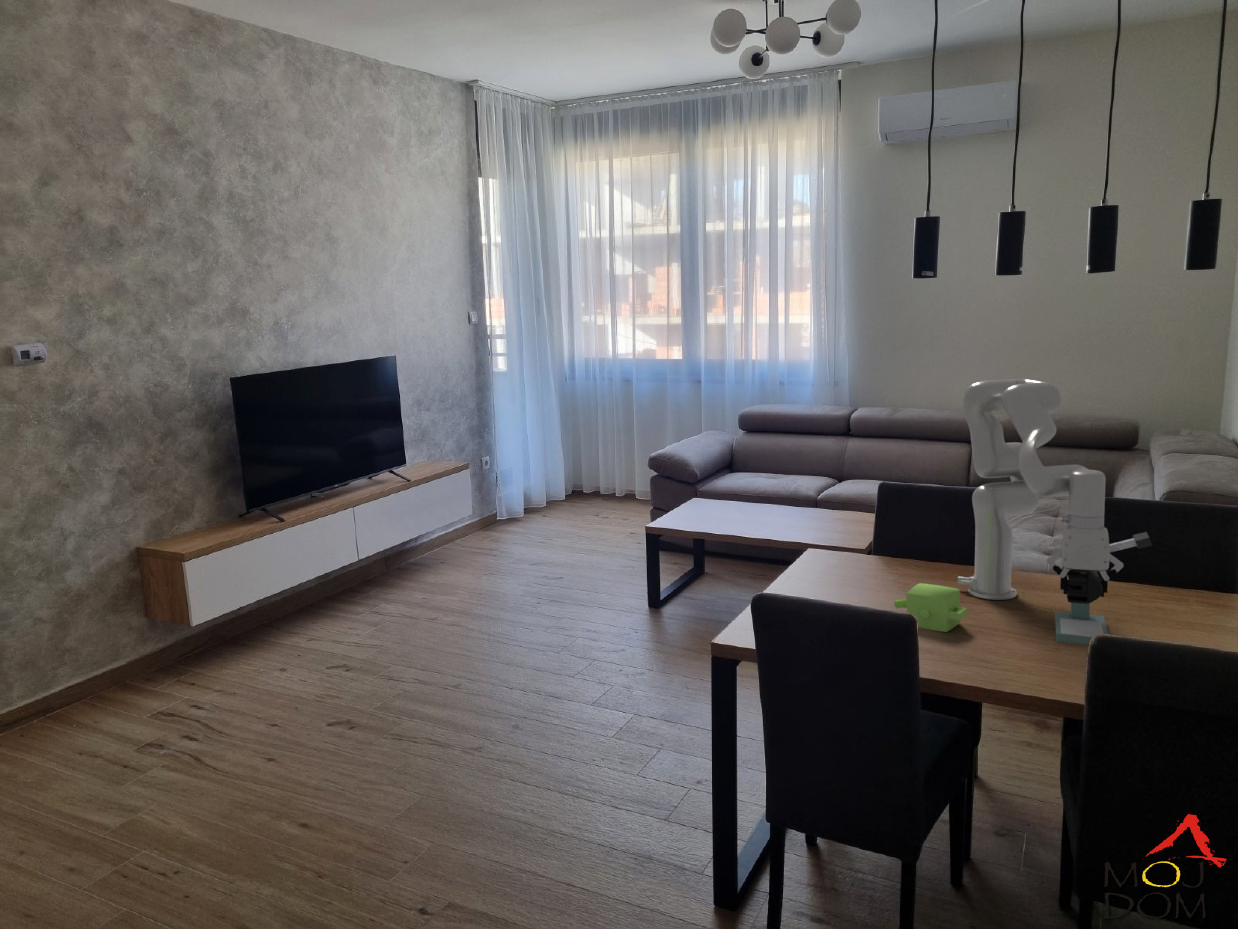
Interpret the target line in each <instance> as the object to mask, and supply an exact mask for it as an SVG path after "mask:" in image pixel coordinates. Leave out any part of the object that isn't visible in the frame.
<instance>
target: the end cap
mask: <svg viewBox="0 0 1238 929" xmlns="http://www.w3.org/2000/svg"><path fill="white" fill-rule="evenodd" d="M1101 594H1102V585H1101V582H1100V577H1099V574H1098V571H1085V570H1071V569H1070V570H1069V572H1068V573H1067V594H1065V595H1066V600H1067V602H1068V603H1070V604H1071V603H1083V604H1088V603H1090V604H1091V603H1093V602H1095V601H1097V600H1098V599H1099V598H1100V597H1101Z"/></svg>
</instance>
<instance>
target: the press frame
mask: <svg viewBox="0 0 1238 929" xmlns="http://www.w3.org/2000/svg"><path fill="white" fill-rule="evenodd" d="M1090 606H1091V603H1088V604H1083V603H1070V612H1066V611H1065V612H1064V611H1063V612H1062V611H1054V626H1055V641H1056V642H1057V643H1065V644H1066V643H1067V644H1077V645H1078V644H1079V645H1087V646H1089V645H1088V644H1089V642H1090V640H1091V638H1092V637H1095V635H1097V634H1108V635H1109V632H1108V628H1107V624H1106V623H1107V622H1106V619H1105V616H1104V615H1099V614H1097V615H1096V614H1090V608H1091V607H1090Z"/></svg>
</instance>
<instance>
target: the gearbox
mask: <svg viewBox="0 0 1238 929" xmlns="http://www.w3.org/2000/svg"><path fill="white" fill-rule="evenodd" d="M960 590H961V589H959V588H956V587H949V586H945V585H938V584H930V583H924V582H923V583H921V582H919V583H917V584H916V585H914V586H913V587H911V589H909V590H908V591H907V592H906V599H895V600H894V601H893V602H894V603H893V604H894V607H895V609H906V614H907V613H910V614H913V615H914V616H916V618H917V622H918V626H919V627H918V628H920V629H923V630H924V629H926V630H929V631H930V630H931V631H938V632H943V633H948V632H949V631H951V630H953V629H955V627H957V626H958V625H959V624H960V623H961V620H963V619H964V618H965V617H967V615H968V614H967V611H968V609H967V607H964V606H961V598H960V597H961V595H960Z"/></svg>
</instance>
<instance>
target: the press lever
mask: <svg viewBox="0 0 1238 929" xmlns="http://www.w3.org/2000/svg"><path fill="white" fill-rule="evenodd" d="M1152 546H1153V544H1152V541H1151V538H1150V536H1149V534H1148V532H1147V531H1144V532H1139V533H1135V534H1133V535H1132V538H1129V539H1125V540H1121V541H1118V542H1117V541H1116V542H1113V543H1109V553H1110V554H1111V553H1114V552H1117V551H1122V550H1125V549H1130V548H1134V547H1137V549H1144V548H1147V547H1152Z"/></svg>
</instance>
